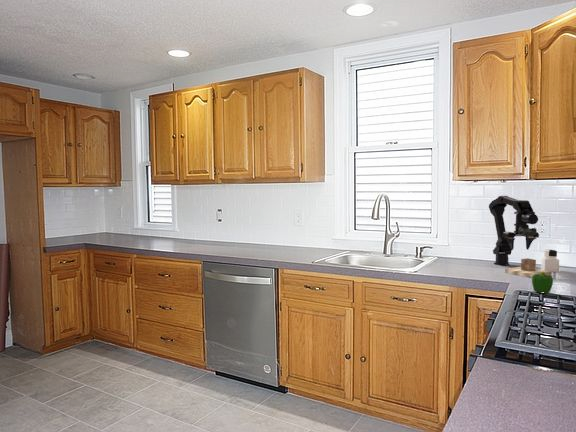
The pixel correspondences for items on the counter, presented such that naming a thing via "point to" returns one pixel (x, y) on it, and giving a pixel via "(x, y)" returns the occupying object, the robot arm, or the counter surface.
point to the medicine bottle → (550, 261)
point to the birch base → (526, 272)
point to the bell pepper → (542, 282)
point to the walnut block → (528, 264)
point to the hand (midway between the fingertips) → (519, 249)
